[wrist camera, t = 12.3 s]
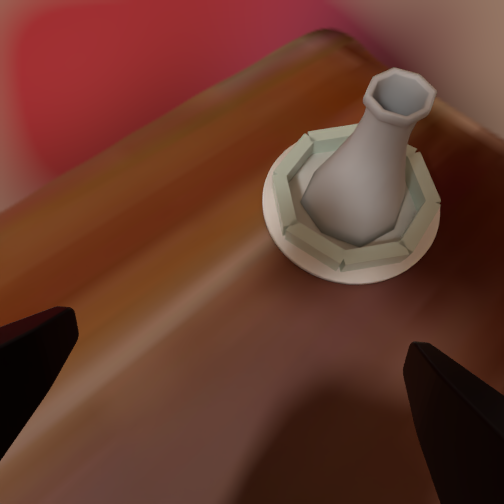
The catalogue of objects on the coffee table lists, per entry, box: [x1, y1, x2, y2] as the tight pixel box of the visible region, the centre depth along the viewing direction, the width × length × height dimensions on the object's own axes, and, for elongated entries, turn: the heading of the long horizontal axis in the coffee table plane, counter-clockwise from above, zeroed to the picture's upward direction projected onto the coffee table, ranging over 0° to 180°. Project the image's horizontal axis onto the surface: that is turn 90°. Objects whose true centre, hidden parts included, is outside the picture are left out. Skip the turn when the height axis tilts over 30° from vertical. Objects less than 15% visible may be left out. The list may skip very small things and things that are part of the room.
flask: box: [300, 67, 437, 248], centre depth 20 cm, size 7×7×10 cm
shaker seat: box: [263, 124, 441, 285], centre depth 25 cm, size 13×13×2 cm
